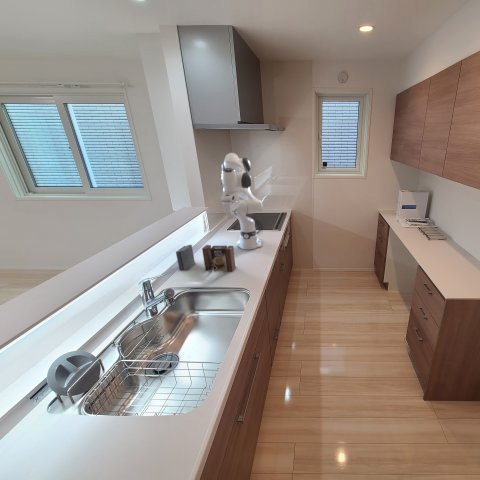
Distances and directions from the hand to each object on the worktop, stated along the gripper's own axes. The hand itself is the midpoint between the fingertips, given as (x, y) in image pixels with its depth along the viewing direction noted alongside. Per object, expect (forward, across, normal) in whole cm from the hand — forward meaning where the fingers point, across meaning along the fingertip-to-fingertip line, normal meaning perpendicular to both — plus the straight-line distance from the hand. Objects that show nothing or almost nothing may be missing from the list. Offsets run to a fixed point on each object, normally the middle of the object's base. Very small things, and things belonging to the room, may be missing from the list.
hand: (233, 216), depth 159 cm
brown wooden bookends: (+35, +6, -10) cm, 37 cm away
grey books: (+35, +4, -34) cm, 49 cm away
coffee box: (+35, +6, -9) cm, 37 cm away
